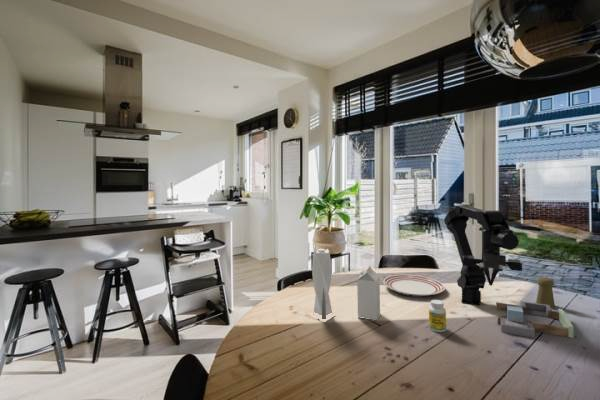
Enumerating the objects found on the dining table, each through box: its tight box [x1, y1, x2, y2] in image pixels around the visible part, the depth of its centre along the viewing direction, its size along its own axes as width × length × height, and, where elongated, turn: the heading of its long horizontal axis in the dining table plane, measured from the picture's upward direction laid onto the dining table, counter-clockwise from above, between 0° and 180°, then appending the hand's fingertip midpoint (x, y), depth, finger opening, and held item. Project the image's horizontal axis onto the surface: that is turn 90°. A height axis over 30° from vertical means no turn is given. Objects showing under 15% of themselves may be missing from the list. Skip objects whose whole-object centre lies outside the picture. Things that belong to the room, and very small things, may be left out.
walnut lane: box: [495, 301, 569, 338], centre depth 109 cm, size 19×15×2 cm
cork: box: [535, 277, 556, 309], centre depth 122 cm, size 6×6×11 cm
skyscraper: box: [311, 244, 333, 319], centre depth 117 cm, size 8×8×28 cm
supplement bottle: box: [428, 299, 447, 333], centre depth 105 cm, size 5×5×10 cm
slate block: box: [506, 305, 524, 324], centre depth 111 cm, size 4×4×4 cm
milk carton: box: [356, 265, 381, 321], centre depth 116 cm, size 7×7×19 cm
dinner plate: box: [382, 274, 446, 297], centre depth 144 cm, size 27×27×3 cm
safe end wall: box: [558, 308, 575, 339], centre depth 103 cm, size 1×15×4 cm, turn 149°
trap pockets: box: [500, 300, 553, 339], centre depth 109 cm, size 16×27×2 cm, turn 149°
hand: (490, 285), depth 114 cm, fingers closed
